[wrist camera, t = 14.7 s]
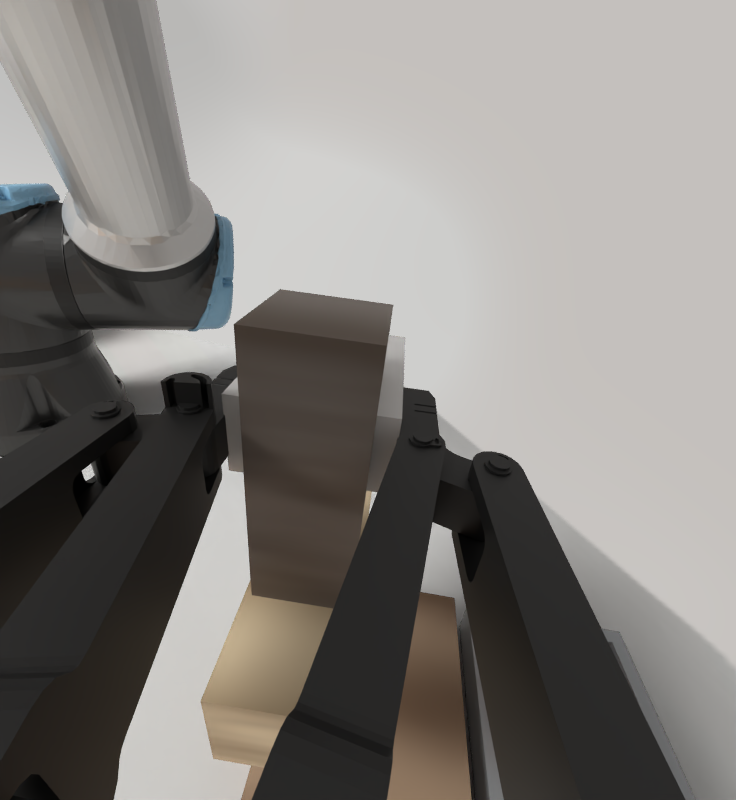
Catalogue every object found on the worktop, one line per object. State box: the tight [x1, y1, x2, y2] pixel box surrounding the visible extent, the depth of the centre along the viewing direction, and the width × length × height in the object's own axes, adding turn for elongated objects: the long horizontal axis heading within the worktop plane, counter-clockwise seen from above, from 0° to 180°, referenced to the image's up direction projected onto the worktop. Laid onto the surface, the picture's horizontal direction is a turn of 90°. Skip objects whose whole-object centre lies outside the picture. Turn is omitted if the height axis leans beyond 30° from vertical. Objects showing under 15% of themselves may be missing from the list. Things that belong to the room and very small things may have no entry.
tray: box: [460, 609, 696, 800], centre depth 21 cm, size 12×10×2 cm
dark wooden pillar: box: [201, 289, 393, 768], centre depth 13 cm, size 10×4×14 cm, turn 174°
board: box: [241, 592, 472, 800], centre depth 21 cm, size 12×10×3 cm
